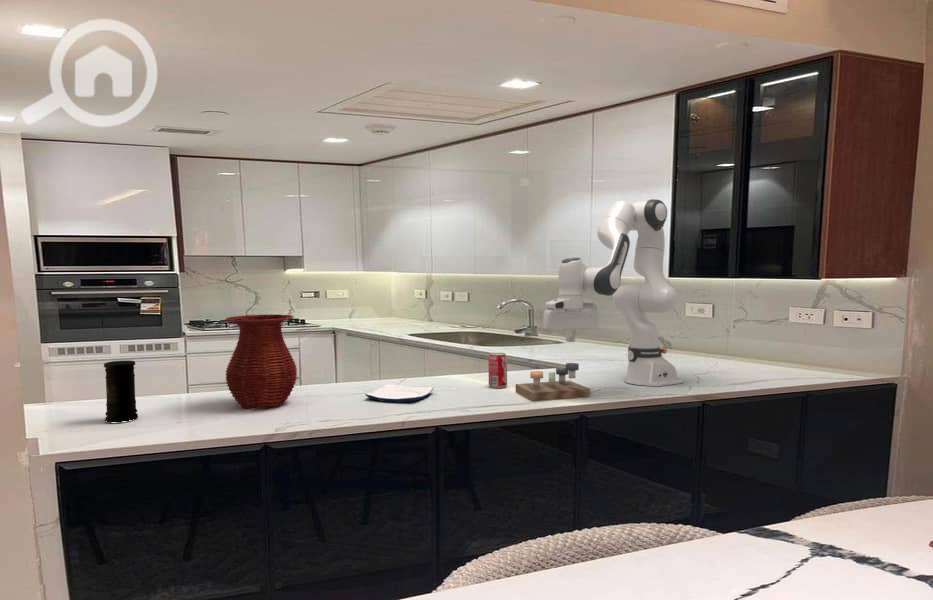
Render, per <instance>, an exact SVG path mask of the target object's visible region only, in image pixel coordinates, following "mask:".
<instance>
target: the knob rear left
mask: <svg viewBox="0 0 933 600" xmlns="http://www.w3.org/2000/svg"><path fill="white" fill-rule="evenodd" d="M579 365H580V364H579V363H577V362H568V363H567V362H566V363H565V368H566V370H568V379H576V374H577V373H576V371H579V367H580V366H579Z"/></svg>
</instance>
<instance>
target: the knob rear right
mask: <svg viewBox="0 0 933 600" xmlns="http://www.w3.org/2000/svg"><path fill="white" fill-rule="evenodd" d="M555 375H558V381H559V382H565V381H566V376H567V375H568V376H569V370H566V367H555Z"/></svg>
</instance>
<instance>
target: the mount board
mask: <svg viewBox="0 0 933 600" xmlns="http://www.w3.org/2000/svg"><path fill="white" fill-rule="evenodd" d="M515 393H516V394H517V395H520V396H522V397H523V396H524V397H523V398H525V399H527V400H529V401H531V402H543V401H545V402H546V401H556V400H559V401H560V400H570V399H571V400H572V399H581V398H583V399H584V398H590V397H591V388H589V387H587V386H584V385H582V384H579V383H577V382H574V381H572V380H565V382H559V380H557V381H556V380H555V387H549V381H544V382H542V381H540V386H539V387H535V386H533V382H529V383H527V382H525V383H515Z"/></svg>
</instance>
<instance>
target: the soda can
mask: <svg viewBox="0 0 933 600" xmlns="http://www.w3.org/2000/svg"><path fill="white" fill-rule="evenodd" d="M507 359H508V357H507V355H506V353H505V352H490V353H489V355H488V359H487V360H488V362H487V363H488V386H489V387H490V388H491V389H504V388H506V387H507V386H508V367H507V366H508V362H507V361H508V360H507Z"/></svg>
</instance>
